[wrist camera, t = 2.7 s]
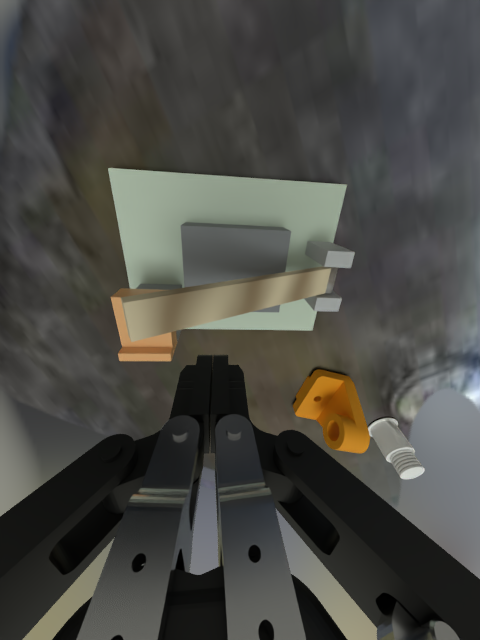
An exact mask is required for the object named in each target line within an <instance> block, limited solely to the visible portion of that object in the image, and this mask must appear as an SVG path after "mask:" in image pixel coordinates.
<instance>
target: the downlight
mask: <svg viewBox="0 0 480 640" xmlns="http://www.w3.org/2000/svg"><path fill="white" fill-rule="evenodd" d="M368 430H369V435H370V436H371V437H373V438H374V440H375V442H376V443H377V445H378V447H379V448H380V450H381V452H382V453H383V455H384V457H385V458H386V460H387V461H388V462H390V463H392V464H393V465H394V467H395V469H396V471H397V472H398V474H399V475H400V477H401V478H402V479H412V478H415V477H418V476H420V475H421V474H423V473H424V471H425V469H424V468H423V467H422V465H421V464H420V462H419V461H418V460H417V458H416V457H415V455H414V453H415V450H414V448H413V447H412V446H411V444H410V443H409V441H408V440H407V439H406V437H405V436H404V435H403V433H402V432H401V431H400V429H399V428H398V422H397V420H395V419H394V418H383V419H379V420H377V421H375V422H373V423H372V424H371V425H370V426H369V427H368Z"/></svg>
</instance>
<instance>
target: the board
mask: <svg viewBox="0 0 480 640" xmlns="http://www.w3.org/2000/svg"><path fill="white" fill-rule="evenodd" d="M108 171H109V176H110V181H111V187H112V192H113V198H114V203H115V209H116V214H117V220H118V225H119V231H120V236H121V241H122V247H123V252H124V258H125V263H126V269H127V274H128V280H129V285H130V289H159V290H172V289H179V288H185V287H192V286H198V285H205V284H211V283H218V282H224V281H231V280H237V279H244V278H250V277H257V276H263V275H270V274H276V273H283V272H289V271H296V270H302V269H308V268H315V267H321V266H324V267H337V268H351V265H352V262H353V258H354V255H355V252H354V251H351V250H349V249H346V248H344V247H341V246H339V245H336V244H334V243H333V241H334V237H335V233H336V229H337V225H338V220H339V216H340V212H341V208H342V204H343V199H344V195H345V191H346V187H347V185H344V184H330V183H316V182H301V181H287V180H273V179H259V178H245V177H230V176H216V175H202V174H188V173H174V172H159V171H145V170H131V169H117V168H108ZM341 300H342V298H341V297H340V296H338V295H337V294H336V293H335V292H334V291H332V293H329V294H328V293H324V294H320V295H316V296H312V297H308V298H304V299H300V300H297V301H293V302H289V303H285V304H281V305H277V306H273V307H269V308H265V309H261V310H257V311H253V312H249V313H245V314H241V315H237V316H233V317H229V318H225V319H221V320H217V321H213V322H209V323H205V324H201V325H197V326H193V327H189V328H185V329H245V330H313V326H314V321H315V317H316V313H317V311H338V310H339V307H340V303H341ZM180 332H181V330H177V331H176V335H177V341H178V338H179V335H180Z"/></svg>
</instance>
